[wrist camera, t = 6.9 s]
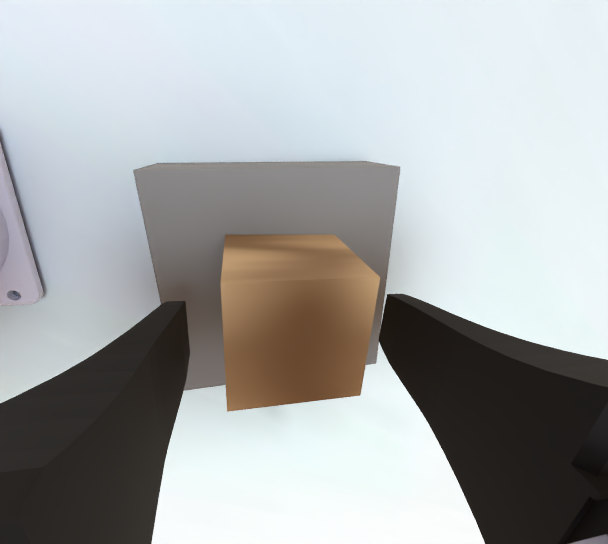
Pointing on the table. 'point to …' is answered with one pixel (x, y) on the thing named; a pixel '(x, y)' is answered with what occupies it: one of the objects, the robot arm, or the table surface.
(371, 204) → the gray block
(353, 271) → the oak cube
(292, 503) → the table surface
